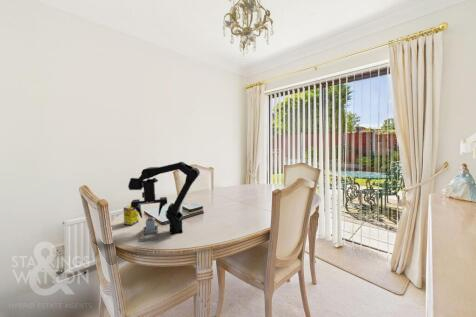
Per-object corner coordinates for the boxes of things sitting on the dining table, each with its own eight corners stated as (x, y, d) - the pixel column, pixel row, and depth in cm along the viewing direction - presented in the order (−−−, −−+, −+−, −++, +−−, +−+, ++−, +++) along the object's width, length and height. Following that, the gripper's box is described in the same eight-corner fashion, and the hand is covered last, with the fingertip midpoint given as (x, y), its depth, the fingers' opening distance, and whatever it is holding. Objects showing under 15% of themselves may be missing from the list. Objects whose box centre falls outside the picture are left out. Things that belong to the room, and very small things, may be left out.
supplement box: (131, 226, 127) (131, 208, 126) (123, 224, 129) (123, 207, 128) (139, 222, 133) (138, 205, 132) (131, 221, 134) (130, 204, 133)
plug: (155, 229, 123) (154, 216, 122) (154, 232, 119) (154, 219, 118) (146, 230, 122) (146, 217, 121) (146, 233, 117) (145, 220, 117)
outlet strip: (158, 227, 125) (158, 225, 125) (157, 239, 111) (157, 236, 111) (142, 229, 123) (142, 227, 122) (139, 241, 108) (139, 239, 108)
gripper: (166, 185, 128) (167, 210, 130) (132, 187, 122) (134, 213, 124) (166, 189, 118) (167, 216, 120) (129, 192, 112) (131, 220, 113)
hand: (150, 216), depth 119 cm, fingers open, 9 cm apart
